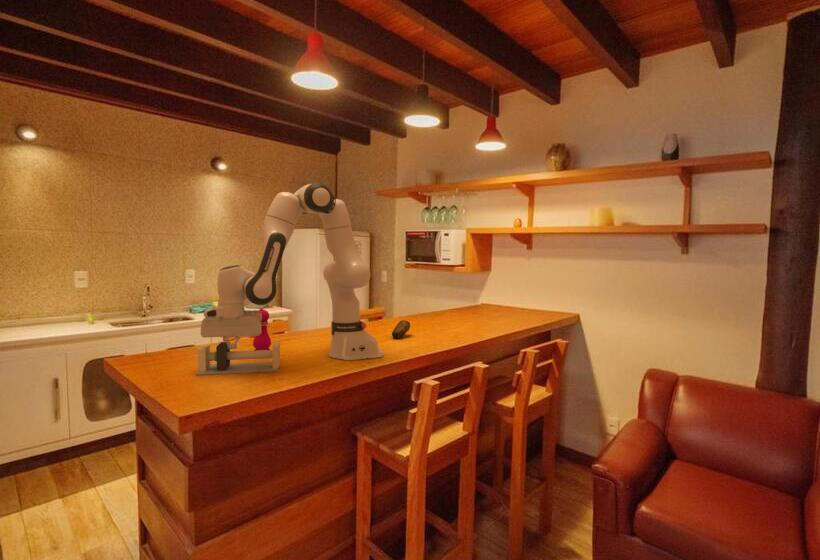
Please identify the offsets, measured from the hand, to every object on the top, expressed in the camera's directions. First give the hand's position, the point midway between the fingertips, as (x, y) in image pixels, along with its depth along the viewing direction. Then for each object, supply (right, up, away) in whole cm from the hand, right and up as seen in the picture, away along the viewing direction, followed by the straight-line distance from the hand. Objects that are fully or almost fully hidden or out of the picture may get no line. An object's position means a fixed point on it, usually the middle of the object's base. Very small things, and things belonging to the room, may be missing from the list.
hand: (232, 348), depth 158 cm
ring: (-3, -7, 0) cm, 7 cm away
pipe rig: (+3, -8, +1) cm, 8 cm away
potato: (+59, -4, +60) cm, 85 cm away
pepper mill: (+3, -6, +24) cm, 25 cm away
